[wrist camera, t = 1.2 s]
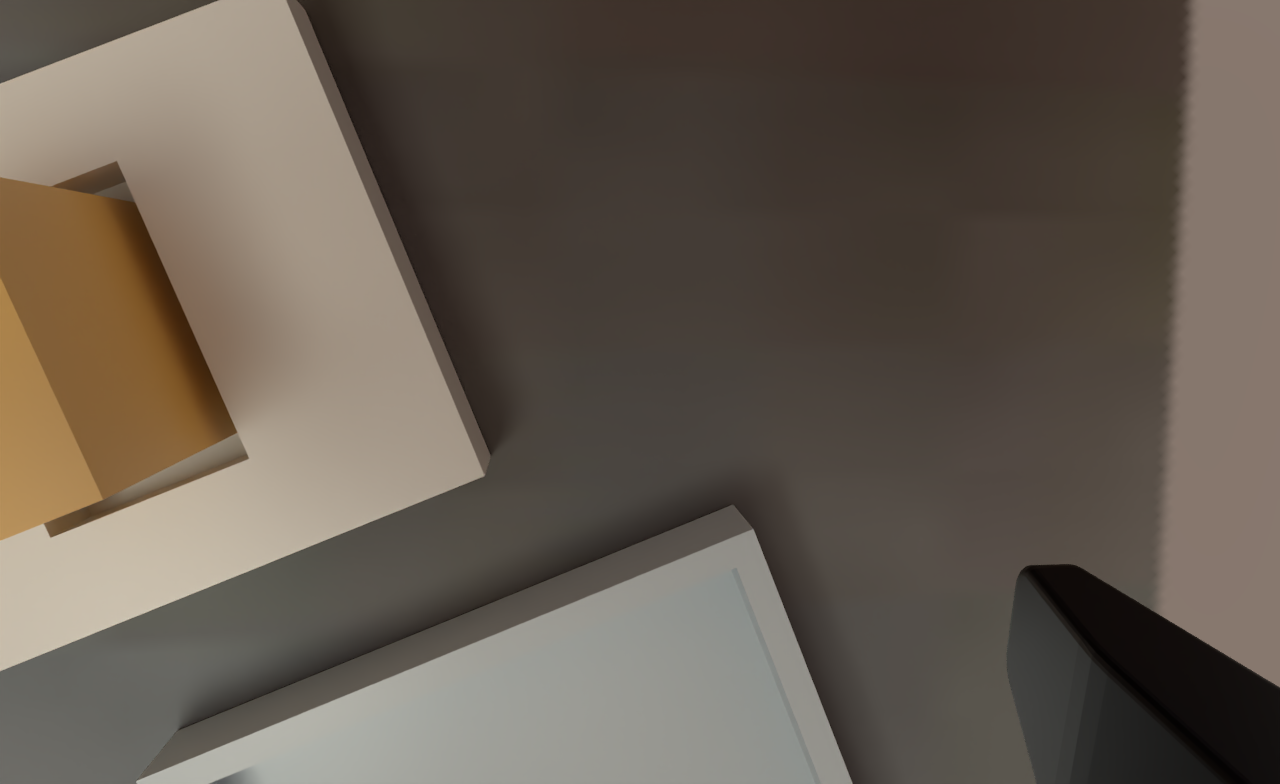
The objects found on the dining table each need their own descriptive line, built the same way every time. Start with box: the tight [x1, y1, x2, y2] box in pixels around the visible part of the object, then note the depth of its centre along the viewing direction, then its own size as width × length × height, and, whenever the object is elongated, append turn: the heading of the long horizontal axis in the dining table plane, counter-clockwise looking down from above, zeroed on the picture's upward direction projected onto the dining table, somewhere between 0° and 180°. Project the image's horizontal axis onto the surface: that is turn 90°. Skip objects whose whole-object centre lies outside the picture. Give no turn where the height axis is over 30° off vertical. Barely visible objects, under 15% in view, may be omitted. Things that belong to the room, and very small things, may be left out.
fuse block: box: [0, 0, 491, 671], centre depth 23 cm, size 12×10×2 cm
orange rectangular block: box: [0, 177, 238, 541], centre depth 20 cm, size 3×5×8 cm, turn 22°
